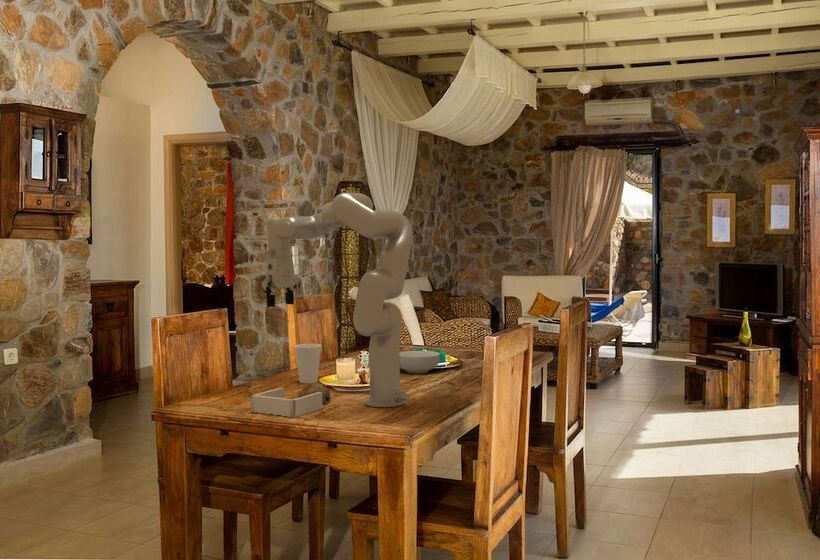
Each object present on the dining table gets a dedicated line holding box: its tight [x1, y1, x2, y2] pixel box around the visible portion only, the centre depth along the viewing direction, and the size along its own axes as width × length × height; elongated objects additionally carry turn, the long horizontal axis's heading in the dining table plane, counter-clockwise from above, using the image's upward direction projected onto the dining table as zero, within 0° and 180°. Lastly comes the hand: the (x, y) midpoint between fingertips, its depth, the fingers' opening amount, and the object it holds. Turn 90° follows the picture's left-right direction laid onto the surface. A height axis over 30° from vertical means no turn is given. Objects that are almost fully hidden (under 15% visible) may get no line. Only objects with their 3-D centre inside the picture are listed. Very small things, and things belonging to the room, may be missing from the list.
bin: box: [250, 387, 323, 419], centre depth 253 cm, size 16×14×5 cm
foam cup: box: [294, 343, 322, 384], centre depth 298 cm, size 10×9×13 cm
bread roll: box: [296, 382, 331, 406], centre depth 264 cm, size 10×10×8 cm
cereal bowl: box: [400, 350, 441, 374], centre depth 317 cm, size 17×17×7 cm
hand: (280, 305), depth 281 cm, fingers open, 9 cm apart
